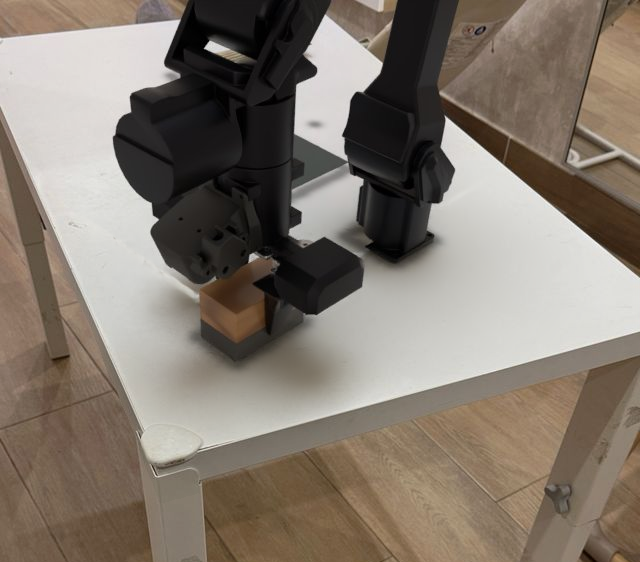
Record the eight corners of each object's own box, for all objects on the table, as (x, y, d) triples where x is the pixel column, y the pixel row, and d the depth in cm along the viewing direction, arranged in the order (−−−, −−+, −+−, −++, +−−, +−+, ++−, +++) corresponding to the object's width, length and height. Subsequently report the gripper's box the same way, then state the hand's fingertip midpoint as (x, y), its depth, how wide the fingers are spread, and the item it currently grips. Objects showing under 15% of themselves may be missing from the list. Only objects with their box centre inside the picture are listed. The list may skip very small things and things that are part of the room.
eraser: (303, 321, 72) (306, 274, 68) (236, 362, 68) (236, 315, 64) (267, 298, 74) (269, 251, 70) (200, 336, 70) (198, 289, 66)
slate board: (348, 170, 91) (349, 161, 90) (271, 207, 85) (271, 199, 84) (238, 112, 99) (238, 104, 98) (160, 143, 93) (160, 134, 92)
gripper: (83, 136, 59) (109, 308, 70) (263, 247, 50) (260, 422, 62) (201, 93, 65) (207, 258, 76) (379, 186, 56) (357, 356, 68)
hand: (253, 319), depth 70 cm, fingers closed on eraser, 4 cm apart
